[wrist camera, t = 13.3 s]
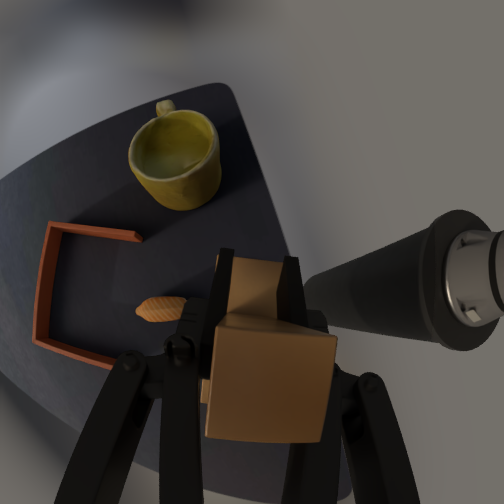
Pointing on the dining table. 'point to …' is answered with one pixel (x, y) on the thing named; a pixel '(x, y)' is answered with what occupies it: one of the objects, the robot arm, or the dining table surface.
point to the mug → (177, 157)
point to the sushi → (161, 308)
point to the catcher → (46, 288)
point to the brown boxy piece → (266, 366)
